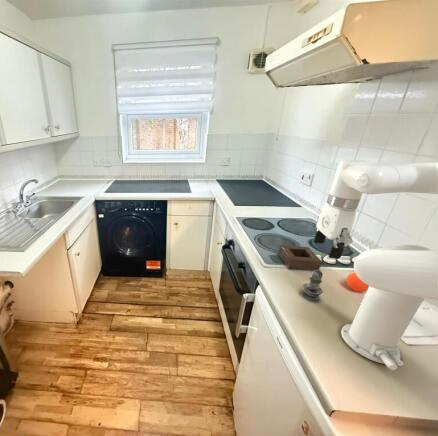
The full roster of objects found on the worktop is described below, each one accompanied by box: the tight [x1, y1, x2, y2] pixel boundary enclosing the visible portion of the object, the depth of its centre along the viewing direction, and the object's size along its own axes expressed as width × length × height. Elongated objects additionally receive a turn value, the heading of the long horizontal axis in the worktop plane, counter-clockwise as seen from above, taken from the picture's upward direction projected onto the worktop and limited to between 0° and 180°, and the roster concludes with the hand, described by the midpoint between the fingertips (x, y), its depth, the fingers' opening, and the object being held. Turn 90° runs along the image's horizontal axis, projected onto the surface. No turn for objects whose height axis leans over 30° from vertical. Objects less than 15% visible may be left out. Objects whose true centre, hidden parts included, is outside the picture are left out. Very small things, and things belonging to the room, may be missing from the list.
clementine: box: [345, 272, 369, 292], centre depth 89 cm, size 8×7×7 cm
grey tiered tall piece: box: [301, 268, 324, 302], centre depth 84 cm, size 6×6×12 cm
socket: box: [278, 245, 323, 272], centre depth 106 cm, size 12×12×5 cm
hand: (325, 249), depth 79 cm, fingers open, 9 cm apart
